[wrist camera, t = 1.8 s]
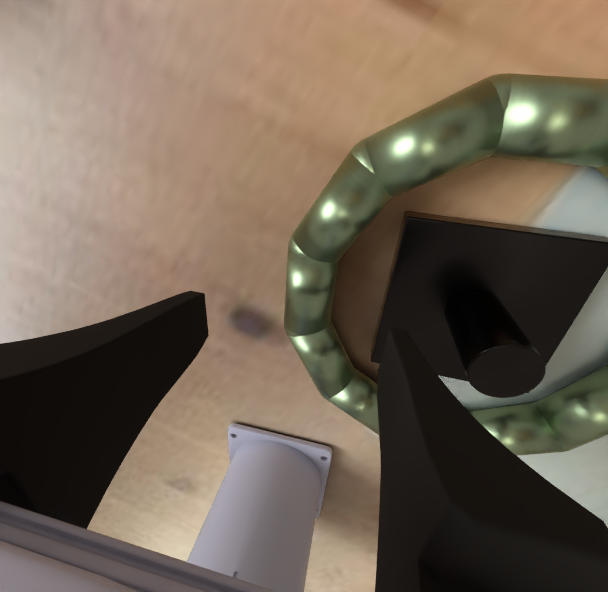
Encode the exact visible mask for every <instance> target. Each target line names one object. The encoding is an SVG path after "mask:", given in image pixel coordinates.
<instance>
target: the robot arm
mask: <svg viewBox="0 0 608 592" xmlns="http://www.w3.org/2000/svg"><path fill="white" fill-rule="evenodd" d="M207 337H208V325H207V315H206V305H205V294H204V293H199V292H194V291H188V292H184V293H181V294H178V295H176V296H173V297H170V298H167V299H165V300H162V301H160V302H157V303H154V304H152V305H149V306H147V307H144V308H141V309H139V310H136V311H133V312H130V313H127V314H124V315H121V316H119V317H116V318H113V319H110V320H107V321H103V322H100V323H97V324H93V325H90V326H86V327H82V328H79V329H75V330H71V331H66V332H62V333H57V334H52V335H48V336H43V337H38V338H33V339H28V340H22V341H16V342H10V343H3V344H0V592H304V586H305V580H306V574H307V567H308V561H309V555H310V549H311V542H312V536H313V530H314V524H315V518H318V517H319V516H320V512H321V507H322V502H323V497H324V492H325V487H326V482H327V477H328V473H329V468H330V463H331V458H332V449H331V448H330V447H328V446H325V445H321V444H317V443H313V442H309V441H305V440H301V439H297V438H293V437H289V436H285V435H281V434H277V433H273V432H269V431H265V430H261V429H257V428H253V427H249V426H244V425H240V424H236V423H232V424H230V425H229V427H228V440H229V455H230V465H229V468H228V470H227V472H226V474H225V477H224V479H223V481H222V483H221V486H220V488H219V490H218V492H217V495H216V497H215V499H214V501H213V504H212V506H211V508H210V510H209V512H208V515H207V517H206V519H205V521H204V524H203V526H202V528H201V530H200V533H199V535H198V537H197V539H196V542H195V544H194V546H193V548H192V551H191V553H190V555H189V557H188V560H187V562H185V561H182V560H179V559H176V558H173V557H170V556H167V555H164V554H161V553H158V552H154V551H151V550H148V549H145V548H142V547H139V546H136V545H133V544H130V543H127V542H124V541H121V540H118V539H115V538H112V537H109V536H106V535H102V534H99V533H96V532H93V531H90V530H87V527H88V525H89V523H90V521H91V519H92V517H93V515H94V513H95V511H96V509H97V507H98V506H99V504H100V502H101V500H102V498H103V496H104V494H105V492H106V490H107V488H108V486H109V485H110V483H111V481H112V479H113V477H114V476H115V474H116V472H117V470H118V469H119V467H120V465H121V463H122V461H123V460H124V458H125V456H126V455H127V453H128V451H129V450H130V448H131V446H132V445H133V443H134V441H135V440H136V438H137V436H138V435H139V433H140V431H141V430H142V428H143V427H144V425H145V424H146V422H147V421H148V419H149V417H150V416H151V414H152V413H153V411H154V410H155V408H156V407H157V406H158V404H159V403H160V402H161V400H162V399H163V398H164V396H165V395H166V394H167V393H168V391H169V390H170V389H171V388H172V386H173V385H174V384H175V383H176V381H177V380H178V379H179V378H180V376H181V375H182V374H183V373H184V371H185V370H186V369H187V368H188V366H189V365H190V364H191V362H192V361H193V360H194V359H195V357H196V356H197V354H198V353H199V351H200V349H201V348H202V346H203V344H204V342H205V341H206V339H207ZM377 406H378V421H379V436H380V451H381V483H380V510H379V533H378V551H377V570H376V585H375V592H608V528H607V526H606V525H605V523H604V521H602V520H601V519H599V518H598V517H597V516H595V515H594V514H592V513H591V512H590V511H588V510H587V509H586V508H584V507H583V506H581V505H580V504H579V503H577V502H576V501H574V500H573V499H572V498H570V497H569V496H568V495H566V494H565V493H563V492H562V491H561V490H559V489H558V488H556V487H555V486H554V485H552V484H551V483H550V482H548V481H547V480H546V479H544V478H543V477H542V476H541V475H539V474H538V473H537V472H536V471H534V470H533V469H532V468H531V467H529V466H528V465H527V464H526V463H524V462H523V461H522V460H521V459H520V458H518V457H517V456H516V455H515V454H514V453H512V452H511V451H510V450H509V449H508V448H507V447H505V446H504V445H503V444H502V443H501V442H500V441H499V440H498V439H497V438H496V437H494V436H493V435H492V434H491V433H490V432H489V431H488V430H487V429H486V428H485V427H484V426H483V425H482V424H481V423H479V422H478V421H477V420H476V419H475V418H474V417H473V415H472V414H471V413H470V412H469V411H468V410H467V409H466V408H465V407H464V406H463V405H462V404H461V403H460V402H459V401H458V400H457V398H456V397H455V396H454V395H453V394H452V393H451V391H450V390H449V389H448V388H447V387H446V385H445V384H444V383H443V382H442V380H441V379H440V378H439V377H438V375H437V374H436V373H435V371H434V370H433V368H432V367H431V366H430V364H429V363H428V361H427V360H426V359H425V357H424V356H423V354H422V353H421V351H420V350H419V348H418V346H417V345H416V343H415V342H414V340H413V339H412V337H411V336H410V334H409V333H408V331H406V330H401V329H396V328H389V332H388V336H387V340H386V343H385V347H384V351H383V354H382V358H381V362H380V366H379V369H378V382H377Z"/></svg>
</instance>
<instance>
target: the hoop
mask: <svg viewBox="0 0 608 592" xmlns="http://www.w3.org/2000/svg"><path fill="white" fill-rule="evenodd" d="M488 157H498V158H508V159H518V160H528V161H539V162H549V163H559V164H570V165H580V166H590V167H595V168H596V169H597V170H598V171H599V172H600V173H601V174H602V175H603V176H604V177H605V178H607V179H608V79H591V78H574V77H557V76H540V75H523V74H498V75H494V76H490V77H488V78H485V79H483V80H481V81H479V82H477V83H475V84H473V85H471V86H469V87H467V88H465V89H463V90H461V91H459V92H457V93H455V94H453V95H451V96H449V97H447V98H445V99H443V100H441V101H439V102H437V103H435V104H433V105H431V106H429V107H427V108H425V109H423V110H421V111H419V112H417V113H415V114H413V115H411V116H409V117H407V118H405V119H403V120H401V121H399V122H397V123H395V124H393V125H391V126H389V127H387V128H385V129H383V130H381V131H379V132H377V133H375V134H373V135H371V136H369V137H367V138H365V139H364V140H362V141H360V142H359V143H358V144H356V145H355V146H354V147H353V149H352V150H351V151H350V152H349V154H348V155H347V157H346V158H345V160H344V161H343V162H342V164H341V165H340V167H339V168H338V170H337V171H336V172H335V174H334V175H333V177H332V178H331V180H330V181H329V183H328V184H327V185H326V187H325V188H324V190H323V191H322V193H321V194H320V195H319V197H318V198H317V200H316V201H315V203H314V204H313V205H312V207H311V208H310V210H309V211H308V213H307V214H306V215H305V217H304V218H303V220H302V221H301V223H300V224H299V225H298V227H297V228H296V230H295V231H294V233H293V234H292V236H291V238H290V241H289V246H288V262H287V280H286V297H285V315H284V327H285V330H286V333H287V335H288V337H289V338H290V340H291V342H292V344H293V346H294V347H295V349H296V351H297V353H298V355H299V356H300V358H301V360H302V362H303V364H304V366H305V367H306V369H307V371H308V373H309V375H310V376H311V378H312V380H313V382H314V384H315V385H316V387H317V389H318V391H319V392H320V394H321V395H322V396H323V397H324V398H325V399H327V400H328V401H330V402H331V403H333V404H334V405H336V406H337V407H338V408H340V409H341V410H343V411H344V412H346V413H347V414H349V415H350V416H352V417H353V418H355V419H356V420H358V421H359V422H360V423H362V424H363V425H365V426H366V427H368V428H369V429H371V430H372V431H374V432H375V433H377V434H378V435H379V421H378V406H377V383H376V382H375V381H373V380H372V379H370V378H369V377H367V376H366V375H365V374H363V373H362V372H360V371H359V370H358V369H356V368H355V367H353V365H352V363H351V361H350V359H349V357H348V355H347V353H346V351H345V349H344V346H343V344H342V342H341V340H340V338H339V336H338V334H337V332H336V330H335V328H334V326H333V323H332V321H331V312H332V305H333V298H334V291H335V285H336V278H337V271H338V264H339V259H340V258H341V257H342V256H343V255H344V253H345V252H346V251H347V250H348V249H349V247H350V246H351V245H352V244H353V243H354V242H355V240H356V239H357V238H358V237H359V236H360V234H361V233H362V232H363V231H364V230H365V229H366V227H367V226H368V225H369V224H370V223H371V221H372V220H373V219H374V218H375V217H376V216H377V214H378V213H379V212H380V211H381V210H382V208H383V207H384V206H385V205H386V204H387V202H388V201H389V200H390V199H391V198H392V197H393V196H395V195H398V194H400V193H403V192H405V191H407V190H410V189H412V188H415V187H417V186H420V185H422V184H424V183H427V182H429V181H432V180H434V179H437V178H439V177H441V176H444V175H446V174H449V173H451V172H454V171H456V170H458V169H461V168H463V167H466V166H468V165H471V164H473V163H475V162H478V161H480V160H483V159H485V158H488ZM469 412H470V413H471V414H472V415H473V417H474V418H475V419H476V420H477V421H478V422H479V423H481V424H482V425H483V426H484V427H485V428H486V429H487V430H488V431H489V432H490V433H491V434H492V435H493V436H494V437H496V438H497V439H498V440H499V441H500V442H501V443H502V444H503V445H504V446H505V447H507V448H508V449H509V450H510V451H511V452H512V453H514V454H515V455H528V454H541V453H554V452H565V451H569V450H571V449H574V448H576V447H579V446H581V445H583V444H586V443H588V442H591V441H593V440H596V439H598V438H600V437H603V436H605V435H608V365H607V366H605V367H603V368H601V369H599V370H597V371H595V372H593V373H591V374H589V375H588V376H586V377H584V378H582V379H580V380H578V381H576V382H574V383H572V384H570V385H568V386H567V387H565V388H563V389H561V390H559V391H557V392H555V393H553V394H551V395H549V396H547V397H545V398H544V399H542V400H540V401H538V402H536V403H529V404H521V405H514V406H506V407H499V408H491V409H484V410H476V411H469Z"/></svg>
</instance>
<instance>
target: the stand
mask: <svg viewBox="0 0 608 592" xmlns="http://www.w3.org/2000/svg"><path fill="white" fill-rule="evenodd" d="M607 267H608V238H606V237H602V236H595V235H587V234H579V233H571V232H563V231H555V230H547V229H539V228H532V227H524V226H516V225H508V224H500V223H492V222H484V221H476V220H469V219H461V218H453V217H445V216H437V215H429V214H421V213H413V212H405V213H404V217H403V221H402V225H401V229H400V233H399V238H398V242H397V246H396V250H395V254H394V258H393V262H392V267H391V271H390V275H389V279H388V283H387V287H386V291H385V295H384V300H383V304H382V308H381V312H380V316H379V320H378V324H377V329H376V333H375V337H374V341H373V345H372V349H371V362H375V363H380V362H381V358H382V354H383V351H384V347H385V343H386V340H387V336H388V332H389V328H396V329H401V330H406V331H408V333H409V334H410V336H411V337H412V339H413V340H414V342H415V343H416V345H417V346H418V348H419V350H420V351H421V353H422V354H423V356H424V357H425V359H426V360H427V361H428V363H429V364H430V366H431V367H432V368H433V370H434V371H435V373H436V374H437V375H440V376H445V377H450V378H455V379H460V380H465V381H469V382H470V384H471V385H472V386H473V387H474V388H475V389H476V390H477V391H479V392H480V393H483V394H485V395H488V396H491V397H497V398H508V397H515V396H519V395H522V394H525V393H529V392H530V391H531V390H532V389H534V388H535V387H536V386H537V385H538V384H539V383H540V382H541V381H542V379H543V377H544V375H545V366H546V364H547V363H548V361H549V360H550V358H551V356H552V355H553V353H554V352H555V350H556V349H557V347H558V345H559V344H560V342H561V341H562V339H563V337H564V336H565V334H566V333H567V331H568V329H569V328H570V326H571V325H572V323H573V321H574V320H575V318H576V317H577V315H578V313H579V312H580V310H581V309H582V307H583V305H584V304H585V302H586V301H587V299H588V297H589V296H590V294H591V293H592V291H593V289H594V288H595V286H596V285H597V283H598V281H599V280H600V278H601V277H602V275H603V273H604V272H605V270H606V269H607Z"/></svg>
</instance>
